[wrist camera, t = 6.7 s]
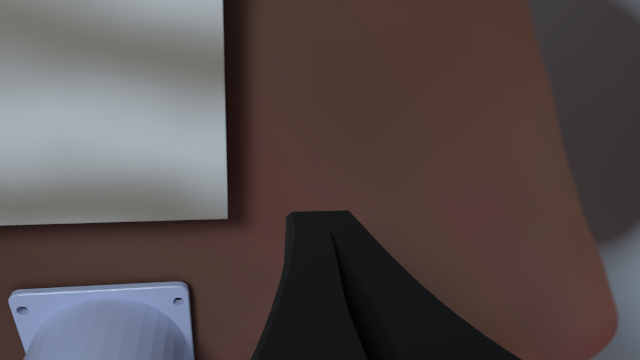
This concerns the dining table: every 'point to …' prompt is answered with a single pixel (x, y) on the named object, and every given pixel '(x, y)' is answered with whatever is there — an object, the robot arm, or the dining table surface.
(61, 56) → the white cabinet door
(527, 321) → the dining table surface
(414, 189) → the dining table surface
